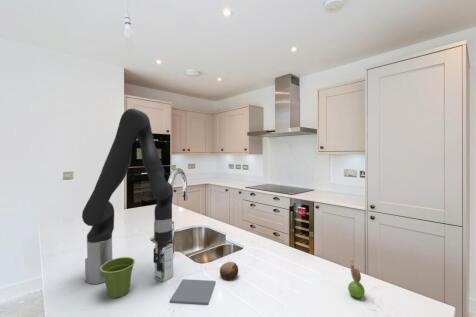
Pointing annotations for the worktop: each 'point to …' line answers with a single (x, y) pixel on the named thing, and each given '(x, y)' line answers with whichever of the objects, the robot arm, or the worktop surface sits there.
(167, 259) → the syrup box
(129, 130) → the robot arm
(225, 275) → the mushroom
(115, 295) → the plant pot
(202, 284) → the slate pad
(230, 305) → the worktop surface
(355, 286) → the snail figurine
